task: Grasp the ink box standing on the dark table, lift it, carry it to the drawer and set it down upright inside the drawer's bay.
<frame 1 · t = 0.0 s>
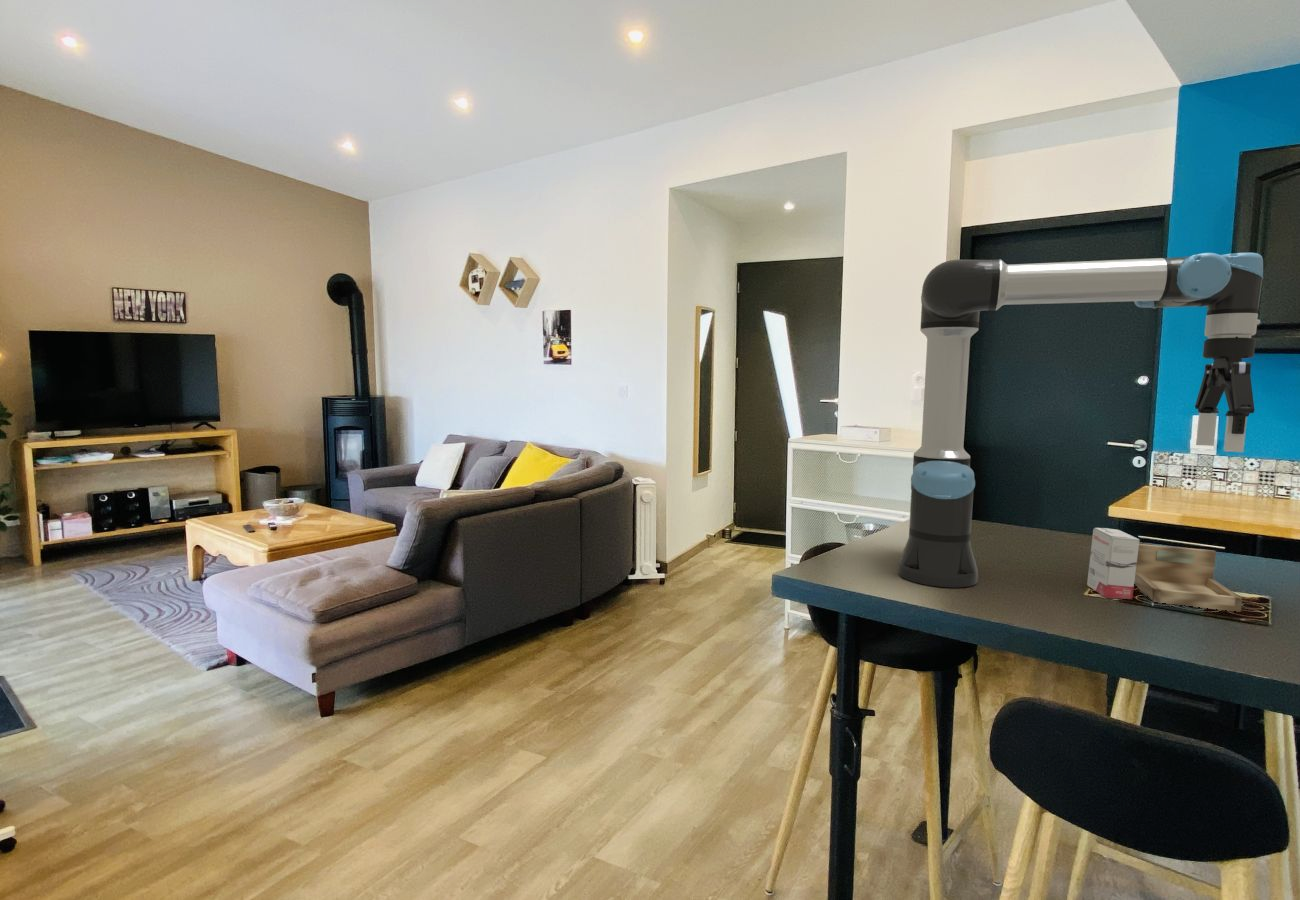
hand: (1218, 448, 132), 28 cm above the table, fingers open, 13 cm apart
drawer: (1182, 596, 130), on the table
ink box: (1109, 593, 132), on the table
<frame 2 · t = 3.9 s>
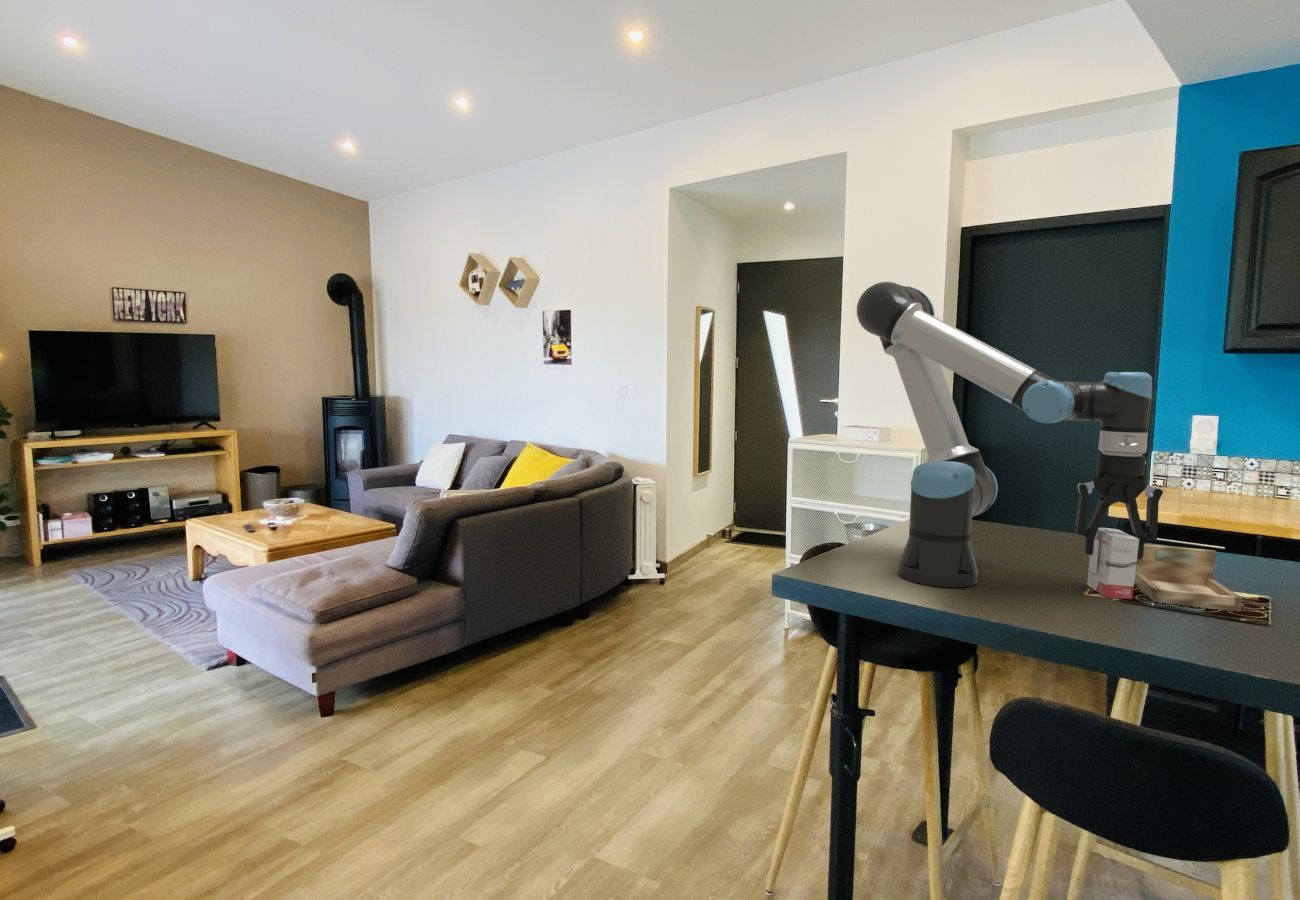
hand: (1111, 572, 131), 4 cm above the table, fingers closed on ink box, 5 cm apart
ink box: (1109, 593, 132), on the table, touching gripper
when the fingers open (6 cm above the table, at t = 9.4 s): ink box drops 1 cm, resting on drawer.
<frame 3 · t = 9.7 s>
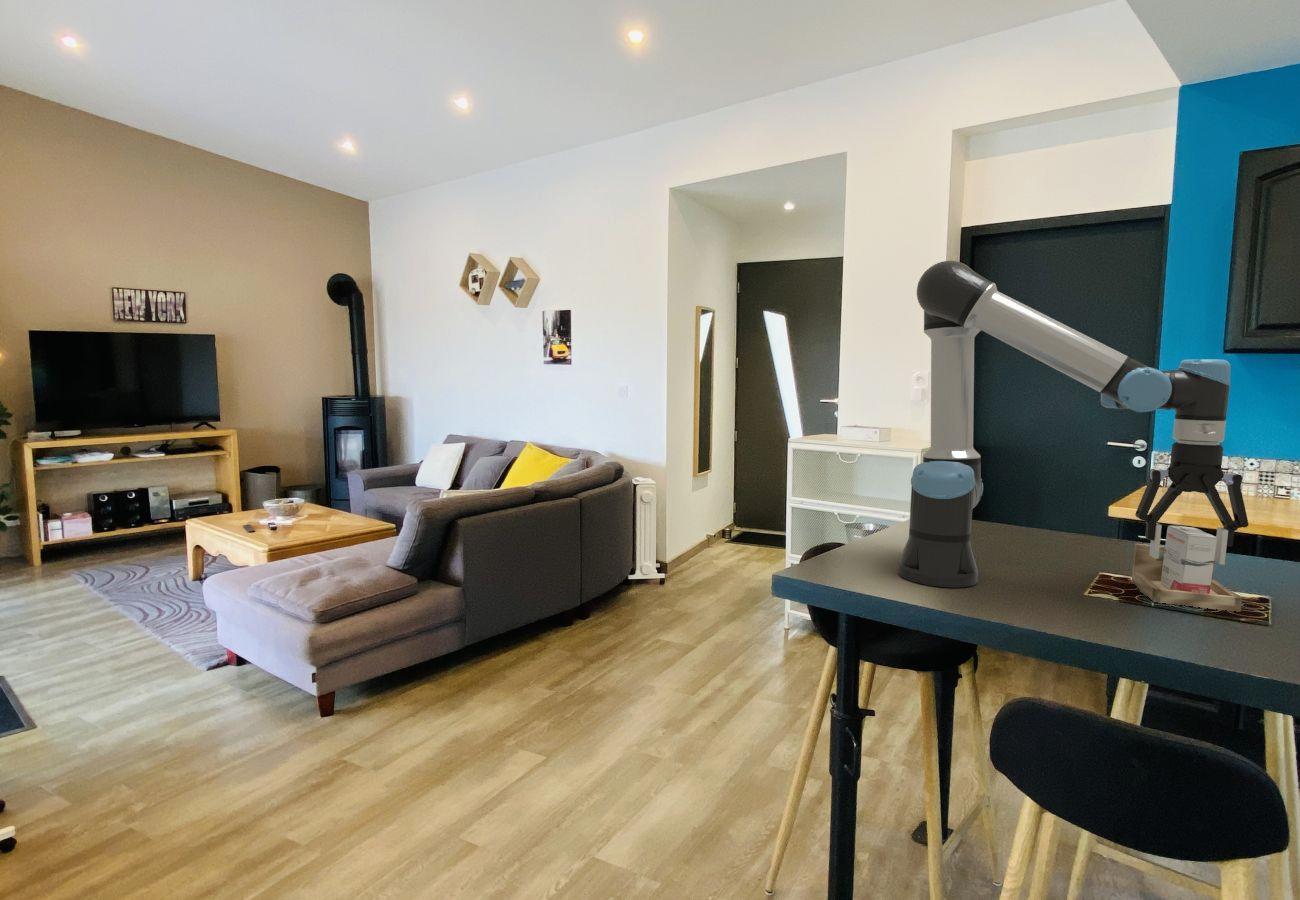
hand: (1186, 559, 129), 7 cm above the table, fingers open, 9 cm apart
ink box: (1184, 592, 130), point 1 cm above the table, touching drawer
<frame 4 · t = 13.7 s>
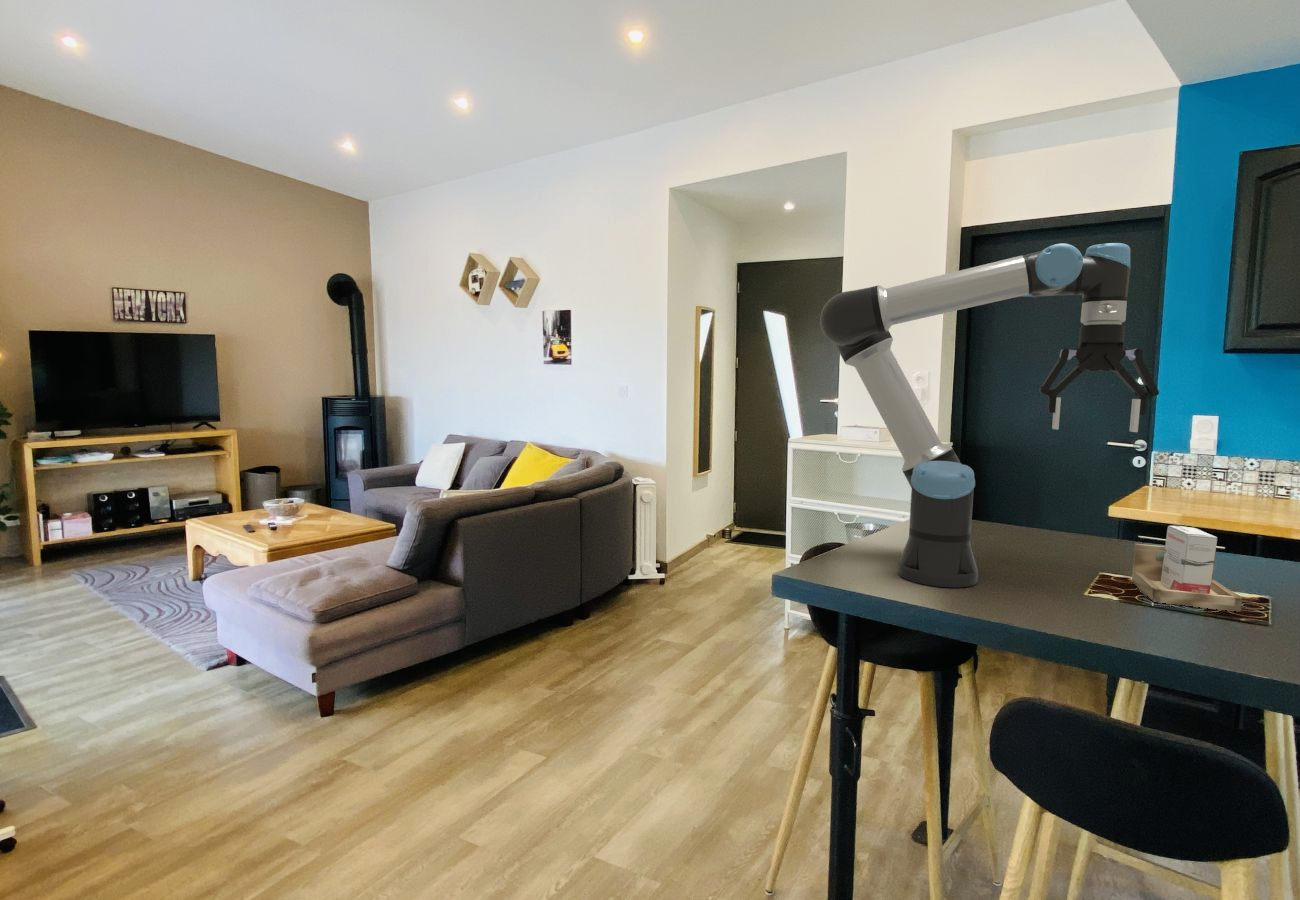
hand: (1093, 430, 138), 31 cm above the table, fingers open, 13 cm apart
nothing on the table moved.
at the end: ink box inside the target area on the drawer (0.3 cm from its centre), point 0.8 cm above the drawer's base; ink box tilted 0°; the gripper is holding nothing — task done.
